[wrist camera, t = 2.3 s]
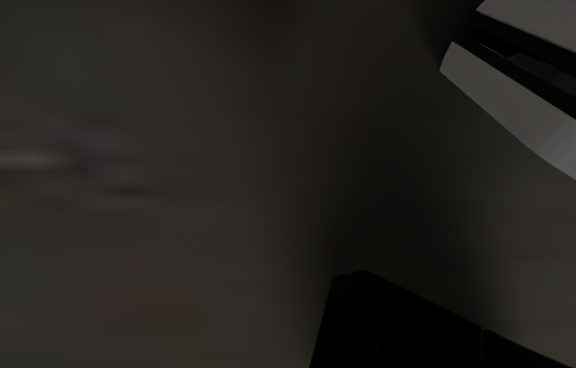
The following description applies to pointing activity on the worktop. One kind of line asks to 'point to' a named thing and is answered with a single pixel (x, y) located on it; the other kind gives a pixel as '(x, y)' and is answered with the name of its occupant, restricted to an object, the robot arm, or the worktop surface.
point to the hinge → (525, 74)
